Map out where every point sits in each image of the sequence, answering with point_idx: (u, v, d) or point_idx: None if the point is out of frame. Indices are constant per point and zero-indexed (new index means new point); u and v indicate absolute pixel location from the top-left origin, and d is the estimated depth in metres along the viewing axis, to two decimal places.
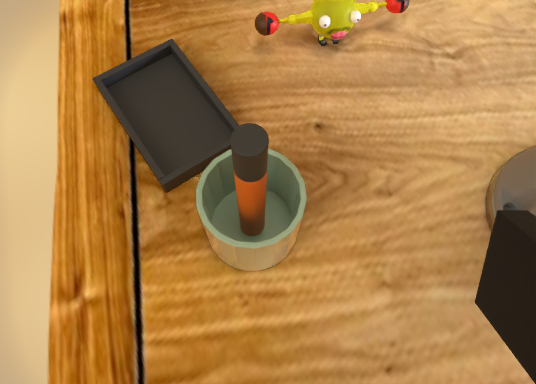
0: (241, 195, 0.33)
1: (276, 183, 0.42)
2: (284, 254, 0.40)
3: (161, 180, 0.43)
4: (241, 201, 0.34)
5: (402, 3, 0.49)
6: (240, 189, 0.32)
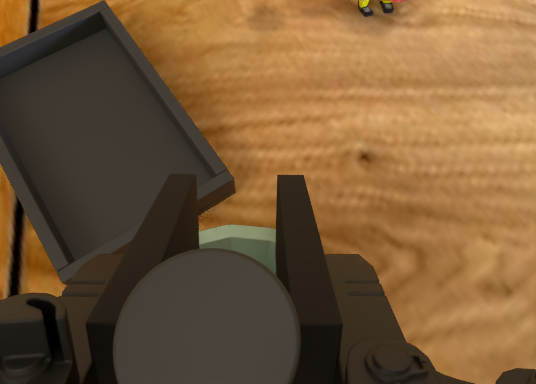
0: None
1: None
2: None
3: (60, 273, 0.21)
4: None
5: None
6: None
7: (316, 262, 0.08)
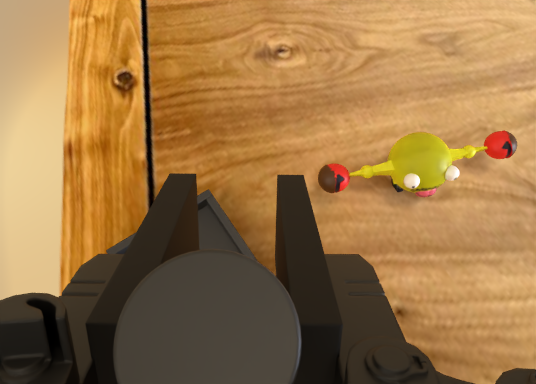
0: None
1: None
2: None
3: None
4: None
5: (510, 150, 0.37)
6: None
7: (316, 262, 0.08)
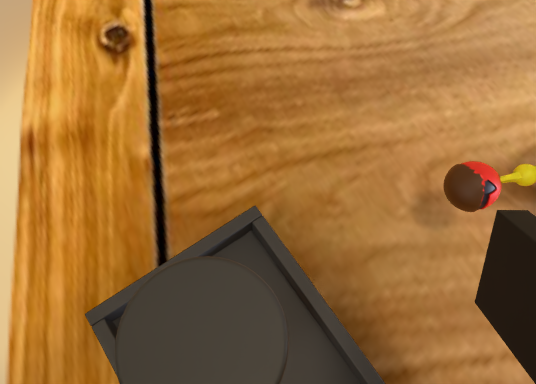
0: None
1: None
2: None
3: None
4: None
5: None
6: None
7: None
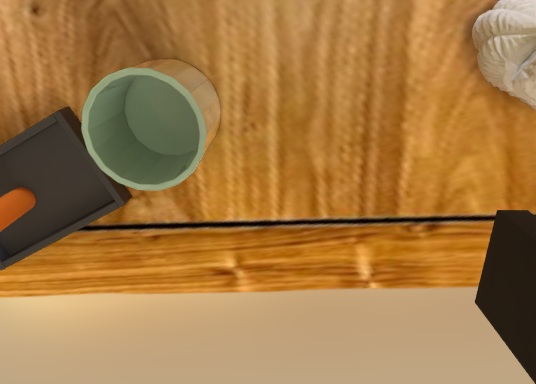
0: None
1: (122, 84, 0.35)
2: (206, 83, 0.36)
3: (120, 205, 0.40)
4: None
5: None
6: None
7: None
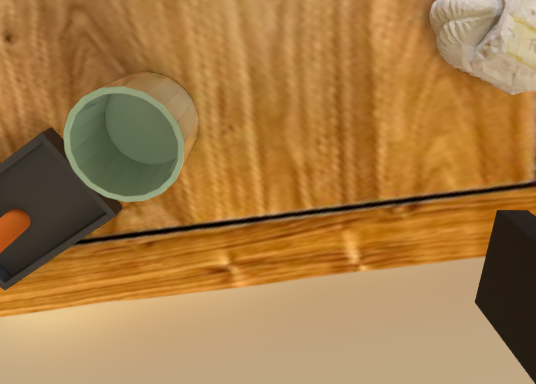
0: None
1: (100, 102, 0.37)
2: (180, 92, 0.38)
3: (111, 217, 0.42)
4: None
5: None
6: None
7: None
